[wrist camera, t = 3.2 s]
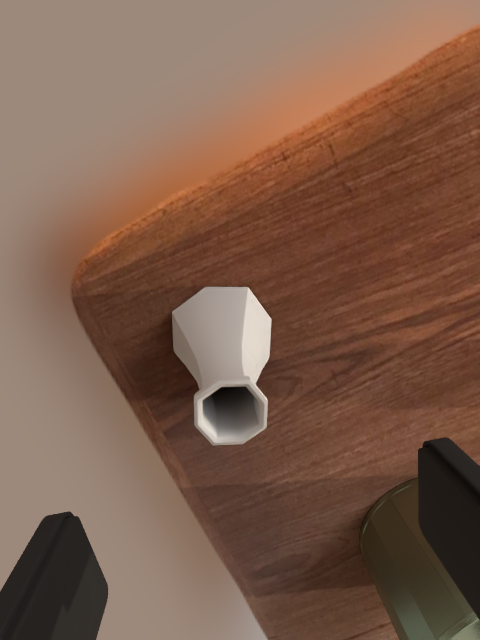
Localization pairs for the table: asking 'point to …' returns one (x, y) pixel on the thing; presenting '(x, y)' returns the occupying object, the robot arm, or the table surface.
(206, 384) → the flask
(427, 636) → the pot
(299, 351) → the table surface
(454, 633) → the pot lid
